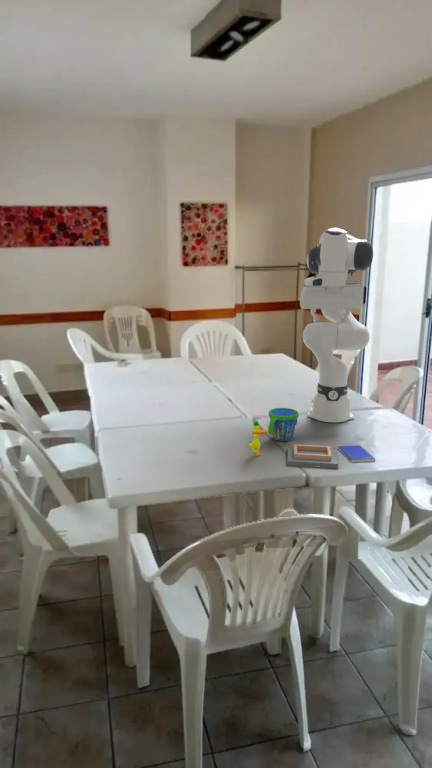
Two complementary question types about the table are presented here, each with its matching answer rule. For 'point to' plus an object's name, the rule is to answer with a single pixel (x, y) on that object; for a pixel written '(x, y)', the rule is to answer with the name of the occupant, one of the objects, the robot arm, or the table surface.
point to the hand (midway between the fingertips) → (329, 322)
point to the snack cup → (282, 423)
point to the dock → (312, 456)
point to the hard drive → (356, 453)
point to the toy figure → (256, 438)
